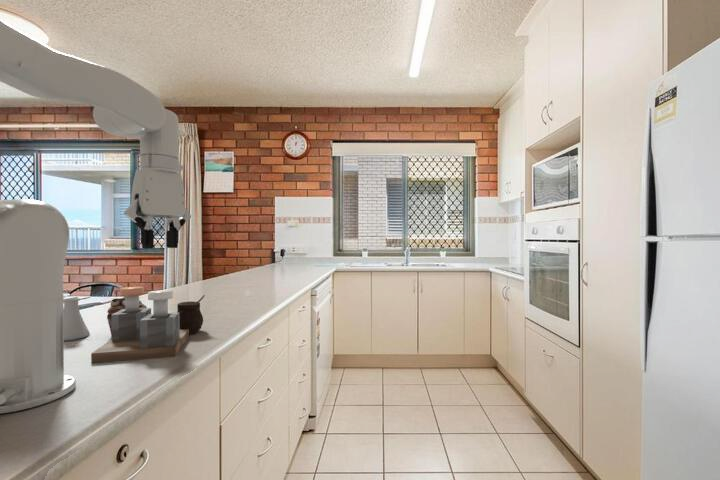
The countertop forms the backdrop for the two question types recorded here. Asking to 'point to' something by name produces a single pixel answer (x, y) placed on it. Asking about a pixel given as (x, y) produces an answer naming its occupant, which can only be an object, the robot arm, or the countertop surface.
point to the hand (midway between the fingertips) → (160, 247)
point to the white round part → (160, 302)
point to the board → (141, 337)
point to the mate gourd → (190, 316)
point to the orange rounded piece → (131, 298)
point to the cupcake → (118, 308)
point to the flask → (73, 320)
